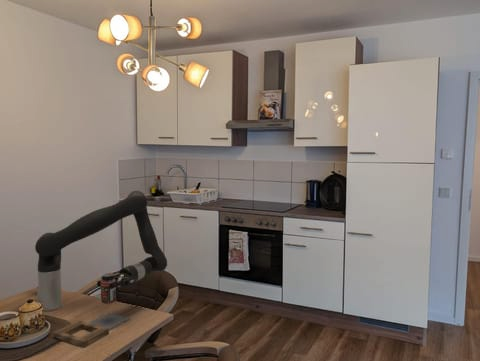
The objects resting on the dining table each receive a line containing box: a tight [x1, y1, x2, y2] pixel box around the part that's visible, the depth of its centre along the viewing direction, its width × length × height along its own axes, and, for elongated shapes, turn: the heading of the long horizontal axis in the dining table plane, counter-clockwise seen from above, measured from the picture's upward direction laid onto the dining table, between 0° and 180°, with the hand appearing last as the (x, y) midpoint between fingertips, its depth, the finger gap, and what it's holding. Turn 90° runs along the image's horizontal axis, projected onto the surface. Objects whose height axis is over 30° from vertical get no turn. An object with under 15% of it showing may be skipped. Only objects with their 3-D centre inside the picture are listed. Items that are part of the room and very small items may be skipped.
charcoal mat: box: [87, 312, 131, 331], centre depth 166 cm, size 12×12×1 cm
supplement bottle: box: [100, 272, 117, 304], centre depth 165 cm, size 6×6×11 cm
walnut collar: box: [52, 320, 110, 348], centre depth 154 cm, size 16×12×2 cm
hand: (103, 285), depth 163 cm, fingers closed on supplement bottle, 6 cm apart
